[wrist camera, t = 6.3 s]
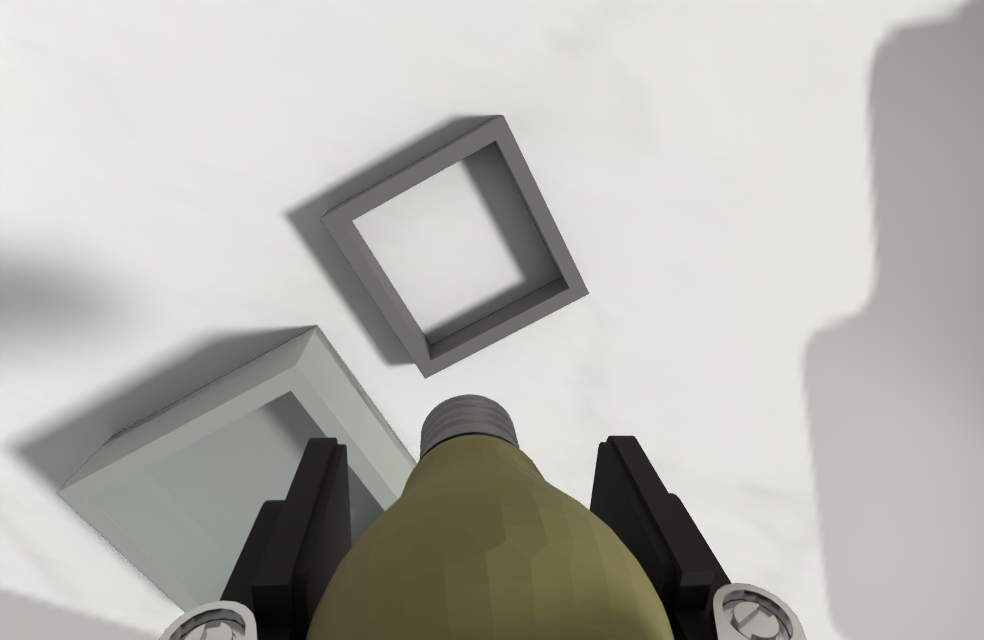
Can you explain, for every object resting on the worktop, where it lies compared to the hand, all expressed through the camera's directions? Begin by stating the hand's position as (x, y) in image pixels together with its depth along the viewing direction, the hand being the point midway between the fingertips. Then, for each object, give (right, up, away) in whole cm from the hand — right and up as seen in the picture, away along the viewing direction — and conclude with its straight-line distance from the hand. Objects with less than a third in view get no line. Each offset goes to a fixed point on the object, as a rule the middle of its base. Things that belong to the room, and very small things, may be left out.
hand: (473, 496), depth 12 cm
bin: (-12, -5, +22) cm, 25 cm away
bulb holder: (-1, +8, +18) cm, 19 cm away
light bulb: (0, +1, +3) cm, 3 cm away
